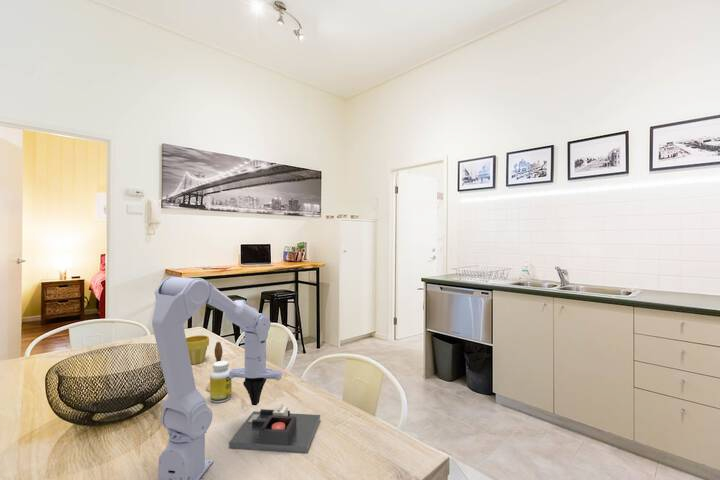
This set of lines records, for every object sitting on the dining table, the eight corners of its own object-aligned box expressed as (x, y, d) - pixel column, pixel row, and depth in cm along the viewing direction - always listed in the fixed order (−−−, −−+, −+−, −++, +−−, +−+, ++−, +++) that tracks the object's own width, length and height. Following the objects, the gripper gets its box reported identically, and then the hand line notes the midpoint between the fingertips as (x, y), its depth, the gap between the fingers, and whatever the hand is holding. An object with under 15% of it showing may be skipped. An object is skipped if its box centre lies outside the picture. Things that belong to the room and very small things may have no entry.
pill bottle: (224, 404, 108) (223, 367, 108) (205, 402, 109) (205, 366, 109) (235, 395, 114) (235, 360, 114) (218, 393, 116) (218, 359, 116)
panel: (307, 453, 84) (307, 433, 84) (229, 447, 86) (228, 429, 86) (320, 420, 99) (320, 403, 99) (253, 416, 101) (253, 400, 101)
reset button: (282, 439, 87) (282, 429, 87) (269, 439, 87) (269, 429, 87) (286, 432, 90) (286, 422, 90) (274, 431, 90) (274, 421, 90)
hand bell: (231, 390, 118) (231, 344, 118) (205, 394, 115) (205, 347, 115) (231, 380, 126) (231, 337, 125) (206, 384, 123) (206, 339, 122)
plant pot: (184, 358, 148) (184, 336, 148) (210, 356, 151) (210, 334, 151) (179, 367, 138) (179, 343, 138) (207, 364, 141) (207, 341, 141)
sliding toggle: (283, 423, 94) (283, 410, 94) (272, 423, 94) (272, 410, 94) (287, 416, 98) (287, 403, 98) (277, 415, 98) (277, 403, 98)
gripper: (285, 351, 99) (285, 398, 99) (237, 349, 101) (237, 395, 101) (276, 360, 92) (276, 410, 92) (225, 358, 94) (225, 407, 94)
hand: (255, 403), depth 96 cm, fingers closed
